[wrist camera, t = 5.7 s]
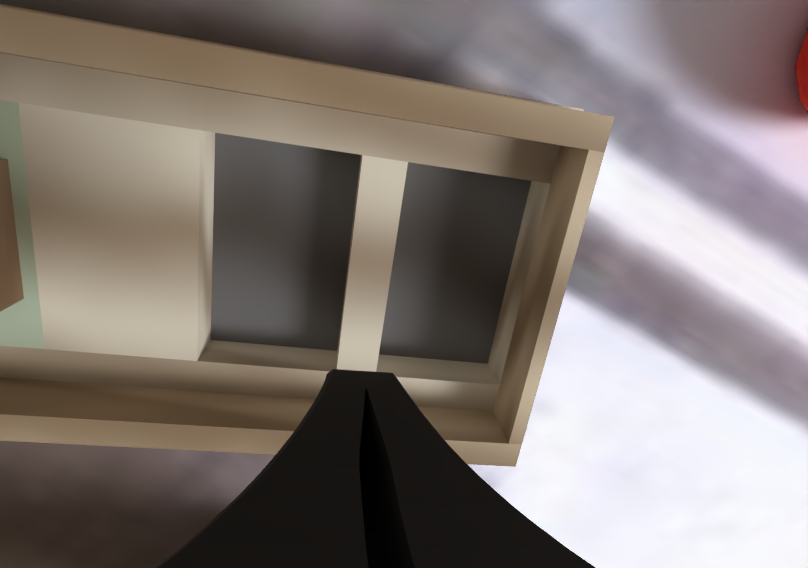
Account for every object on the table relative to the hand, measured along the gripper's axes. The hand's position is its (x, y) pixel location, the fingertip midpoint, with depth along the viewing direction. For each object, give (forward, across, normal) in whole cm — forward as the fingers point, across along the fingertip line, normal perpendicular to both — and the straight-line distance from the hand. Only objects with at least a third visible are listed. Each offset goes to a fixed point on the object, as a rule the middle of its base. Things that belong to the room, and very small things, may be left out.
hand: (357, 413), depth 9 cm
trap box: (+9, +5, -1) cm, 11 cm away
